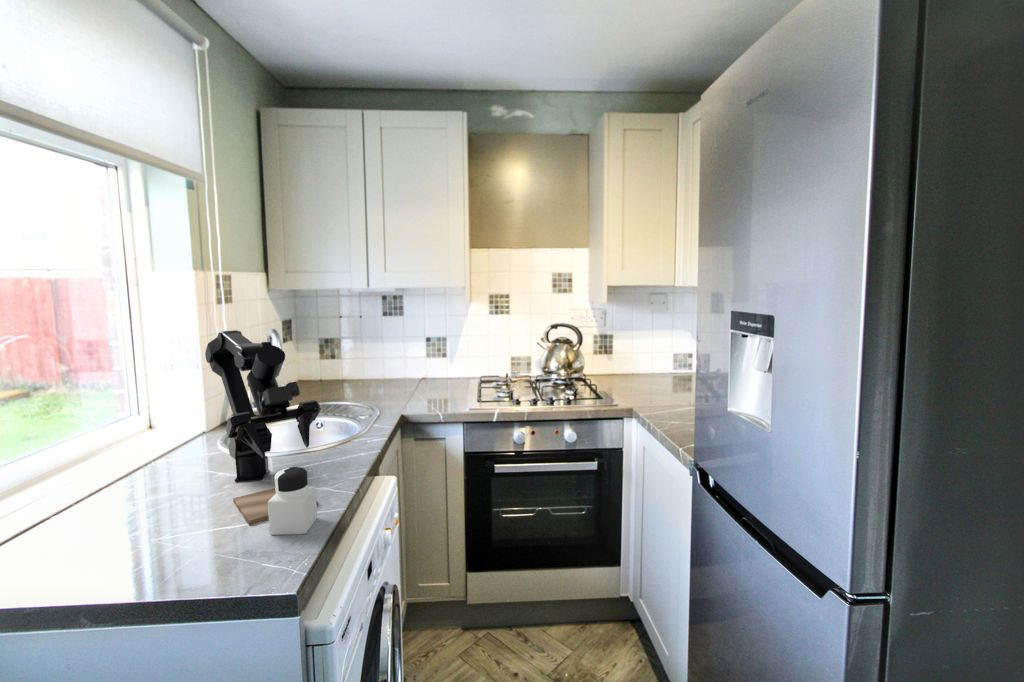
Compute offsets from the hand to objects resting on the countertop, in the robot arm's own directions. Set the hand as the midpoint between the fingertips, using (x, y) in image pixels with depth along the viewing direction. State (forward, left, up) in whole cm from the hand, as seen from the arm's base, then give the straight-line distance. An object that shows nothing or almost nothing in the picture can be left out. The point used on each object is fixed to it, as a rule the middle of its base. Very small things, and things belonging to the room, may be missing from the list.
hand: (286, 451), depth 112 cm
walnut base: (-4, +4, -13) cm, 15 cm away
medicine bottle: (+2, -8, -14) cm, 16 cm away
